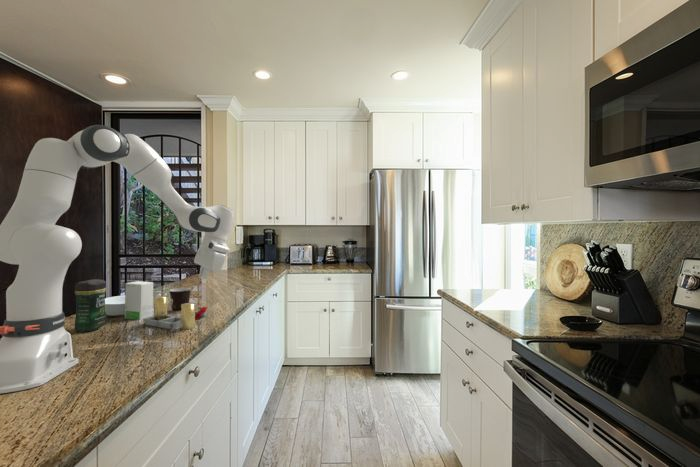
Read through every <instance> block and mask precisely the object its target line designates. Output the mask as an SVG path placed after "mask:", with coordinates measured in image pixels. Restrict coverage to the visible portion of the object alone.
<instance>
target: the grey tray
mask: <svg viewBox="0 0 700 467" xmlns="http://www.w3.org/2000/svg"><path fill="white" fill-rule="evenodd" d="M145 325H146V326H151V327H156V328H161V329H168V330H174V329H178V328H180V327H181V317H180V316H175V315H169V314H167V318H166V319H162V320H159V321H158V320H154V316H151V317H148V318H144V326H145Z"/></svg>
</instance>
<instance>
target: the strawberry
mask: <svg viewBox="0 0 700 467" xmlns="http://www.w3.org/2000/svg"><path fill="white" fill-rule="evenodd" d="M207 310H208V306H202V307H199V309H196V310H195V320H199V319H200V318H207V314H205V313H206V312H207Z"/></svg>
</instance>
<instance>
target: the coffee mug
mask: <svg viewBox="0 0 700 467" xmlns="http://www.w3.org/2000/svg"><path fill="white" fill-rule="evenodd" d="M191 290H192V289H191V288H190V287H181V288H180V287H179V288H178V287H177V288H172V289H170V290H169V297H170V298H169V299H170V304H171V311H172V312H174V311H175V312H177V311H178V312H181V304H184V303H190V300H191Z"/></svg>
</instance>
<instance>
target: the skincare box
mask: <svg viewBox="0 0 700 467" xmlns="http://www.w3.org/2000/svg"><path fill="white" fill-rule="evenodd" d="M124 290H125V291H124V292H125V294H124V295H125V315H124V319H128V320H145V319H147V318H151V317H154V282H151V281H141V280H138V281H137V280H136V281H132V282H126V283H125V289H124Z"/></svg>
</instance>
